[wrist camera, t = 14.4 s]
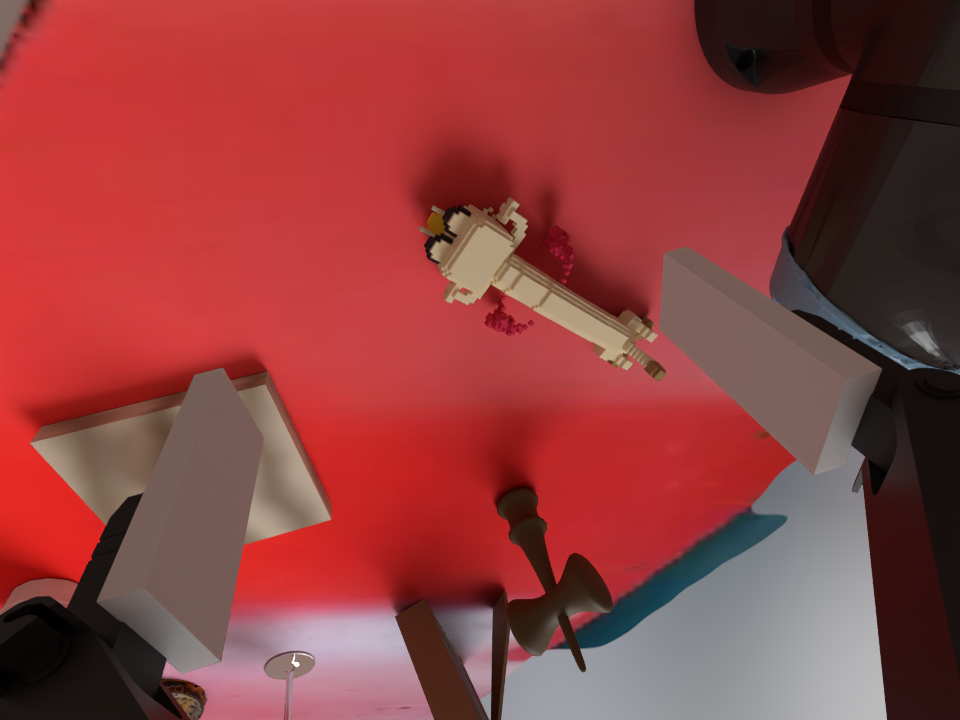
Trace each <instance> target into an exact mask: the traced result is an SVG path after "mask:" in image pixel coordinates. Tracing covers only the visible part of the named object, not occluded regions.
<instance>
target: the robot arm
mask: <svg viewBox="0 0 960 720" xmlns="http://www.w3.org/2000/svg"><path fill="white" fill-rule="evenodd" d="M695 16H696V26H697V32H698V37H699V41H700V44H701V47H702V50H703V53H704V55H705V57H706V59H707V61H708V63H709V64H710V66H711V68H712V69H713V70H714V72H715V73H716V74H717V75H718V76H719V77H720V78H721V79H722V80H723V81H725V82H726V83H728V84H729V85H731V86H733V87H735V88H738V89H740V90H744V91H750V92H757V93H764V94H783V93H790V92H794V91H798V90H801V89H804V88H808V87H811V86H814V85H817V84H821V83H824V82H827V81H831V80H834V79H837V78H840V77H844V76H847V75H850V74H853V75H852V77H851V80H850V83H849V85H848V88H847V90H846V93H845V95H844V97H843V100H842V102H841V105H840V106H839V109H838V111H837V114H836V116H835V119H834V121H833V123H832V126H831V128H830V131H829V133H828V135H827V138H826V140H825V143H824V145H823V147H822V150H821V152H820V155H819V157H818V159H817V162H816V164H815V167H814V169H813V171H812V174H811V176H810V179H809V181H808V183H807V186H806V188H805V191H804V193H803V196H802V198H801V200H800V203H799V205H798V208H797V210H796V212H795V215H794V217H793V220H792V222H791V224H790V226H788V227H786V229H785V231H784V232H783V235H782V239H781V241H782V247H781V250H780V253H779V256H778V259H777V261H776V264H775V267H774V270H773V273H772V276H771V279H770V287H769V288H770V296H771V299H770V298H768V297H767V296H765V295H764V294H762V293H760V292H759V291H757V290H756V289H754V288H752V287H751V286H749V285H748V284H746V283H745V282H743V281H741V280H740V279H738V278H737V277H735V276H733V275H732V274H730V273H729V272H727V271H725V270H724V269H722V268H721V267H719V266H717V265H716V264H714V263H713V262H711V261H709V260H708V259H706V258H705V257H703V256H701V255H700V254H698V253H697V252H695V251H693V250H692V249H690V248H689V247H684V248H681V249H677V250H673V251H669V252H665V253H664V260H663V277H662V294H661V311H660V328H659V330H660V331H661V332H663V333H664V334H665V335H666V336H667V337H668V338H669V339H670V340H671V341H672V342H673V343H674V344H675V345H676V346H677V347H678V348H679V349H681V350H682V351H683V352H684V353H685V354H686V355H687V356H688V357H689V358H690V359H691V360H692V361H693V362H694V363H695V364H696V365H697V366H699V367H700V368H701V369H702V370H703V371H704V372H705V373H706V374H707V375H708V376H709V377H710V378H711V379H712V380H713V381H714V382H716V383H717V384H718V385H719V386H720V387H721V388H722V389H723V390H724V391H725V392H726V393H727V394H728V395H729V396H730V397H731V398H732V399H734V400H735V401H736V402H737V403H738V404H739V405H740V406H741V407H742V408H743V409H744V410H745V411H746V412H747V413H748V414H749V415H750V416H752V417H753V418H754V419H755V420H756V421H757V422H758V423H759V424H760V425H761V426H762V427H763V428H764V429H765V430H766V431H767V432H768V433H770V434H771V435H772V436H773V437H774V438H775V439H776V440H777V441H778V442H779V443H780V444H781V445H782V446H783V447H784V448H785V449H786V450H788V451H789V452H790V453H791V454H792V455H793V456H794V457H795V458H796V459H797V460H798V461H799V462H800V463H801V464H803V466H805V467H806V468H807V469H808V470H809V471H810V472H811V473H812V474H813V475H816V474H819V473H822V472H825V471H828V470H832V469H835V468H838V467H841V466H844V465H845V462H846V460H847V457H848V455H849V452H850V450H851V447H852V446H853V447H854V448H855V449H857V450H858V451H859V452H860V453H862V454H863V455H864V456H865V459H864V461H863V463H862V466H861V468H860V470H859V473H858V475H857V477H856V480H855V482H854V485H853V489H852V492H856V493H858V491H859V489H860V486H861V485H863V490H864V499H865V509H866V518H867V529H868V538H869V547H870V558H871V568H872V577H873V587H874V597H875V606H876V616H877V625H878V635H879V644H880V655H881V665H882V674H883V684H884V694H885V703H886V713H887V720H960V375H958V374H959V373H960V0H695ZM263 442H264V437H263V435H262V434H261V432H260V430H259V429H258V427H257V425H256V423H255V422H254V420H253V418H252V417H251V415H250V413H249V411H248V410H247V408H246V406H245V405H244V403H243V401H242V400H241V398H240V396H239V394H238V393H237V391H236V389H235V388H234V386H233V384H232V382H231V381H230V379H229V377H228V376H227V374H226V372H225V370H224V369H223V367H222V368H219V369H215V370H211V371H207V372H203V373H199V374H195V375H194V377H193V379H192V382H191V384H190V386H189V389H188V391H187V393H186V396H185V398H184V400H183V403H182V405H181V407H180V410H179V412H178V414H177V416H176V419H175V421H174V423H173V426H172V428H171V430H170V433H169V435H168V437H167V440H166V442H165V444H164V447H163V449H162V451H161V454H160V456H159V458H158V460H157V463H156V465H155V467H154V470H153V472H152V474H151V477H150V479H149V481H148V484H147V486H146V488H145V491H144V493H141V494H137V495H134V496H130V497H128V498H127V499H126V500H125V501H124V502H123V503H122V504H121V506H120V507H119V508H118V509H117V510H116V511H115V513H114V514H113V515H112V516H111V517H110V518H109V520H108V523H107V525H106V527H105V529H104V531H103V533H102V535H101V537H100V543H97V546H96V548H95V550H94V552H93V554H92V556H91V557H92V560H91V561H89V562H88V564H87V566H86V569H85V571H84V573H83V575H82V577H81V579H80V581H79V583H78V585H77V587H76V589H75V591H74V594H73V596H72V598H71V600H70V602H69V604H68V606H67V608H65V607H64V606H63V605H62V604H60V603H59V602H58V601H56V600H55V599H53V598H52V597H50V596H38V597H34V598H31V599H28V600H26V601H23V602H20V603H18V604H17V605H15V606H13V607H12V608H10V609H9V610H7V611H5V612H4V613H2V614H1V615H0V720H190V718H189V717H188V715H187V714H186V713H185V711H184V710H183V708H182V707H181V706H180V704H179V703H178V701H177V700H176V699H175V697H174V696H173V694H172V693H171V692H170V690H169V689H168V688H167V687H166V686H165V685H163V684H162V683H161V682H160V681H161V678H162V674H163V670H164V667H165V663H166V661H167V662H168V663H169V664H171V665H172V666H173V667H174V668H175V669H176V670H178V671H179V672H180V673H181V674H183V673H186V672H190V671H193V670H196V669H199V668H202V667H205V666H209V665H212V664H215V663H218V662H221V659H222V654H223V648H224V643H225V638H226V633H227V628H228V623H229V617H230V612H231V607H232V602H233V597H234V592H235V586H236V581H237V576H238V571H239V566H240V560H241V555H242V550H243V545H244V540H245V535H246V529H247V524H248V519H249V514H250V509H251V504H252V498H253V493H254V488H255V483H256V478H257V473H258V467H259V462H260V457H261V452H262V447H263Z"/></svg>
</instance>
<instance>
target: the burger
mask: <svg viewBox="0 0 960 720" xmlns="http://www.w3.org/2000/svg"><path fill="white" fill-rule="evenodd" d="M160 682H161V683H162V684H163V685H165V686H166V687H167V688H168V689H169V690H170V692H171V693H172V694H173V696H174V697H175V699H176V700H177V701H178V703H179V704H180V706H181V707H182V708H183V710H184V711H185V713H186V714H187V715H188V717H189V718H190V720H198V719H199V718H200V717H201V715H202V714H203V711H204V705H205V704H206V701H207V699H206V698H205V696H204V690H203V689H202V688H201V687H197V688H195V686H194V683H191V682H188V681H183V680H173V679H161V681H160Z"/></svg>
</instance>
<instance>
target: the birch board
mask: <svg viewBox="0 0 960 720" xmlns="http://www.w3.org/2000/svg"><path fill="white" fill-rule="evenodd" d="M230 381H231V382H232V384H233V386H234V388H235V389H236V391H237V393H238V394H239V396H240V398H241V400H242V401H243V403H244V405H245V406H246V408H247V410H248V411H249V413H250V415H251V417H252V418H253V420H254V422H255V423H256V425H257V427H258V429H259V430H260V432H261V434H262V435H263V437H264V442H263V447H262V452H261V457H260V462H259V467H258V473H257V478H256V483H255V488H254V493H253V498H252V504H251V509H250V514H249V519H248V524H247V529H246V539H245V540H244V545H245V544H248V543H252V542H255V541H259V540H262V539H266V538H269V537H273V536H276V535H280V534H283V533H287V532H290V531H293V530H297V529H300V528H304V527H307V526H311V525H314V524H318V523H321V522H325V521H328V520H331V503H330V501H329V499H328V497H327V495H326V492H325V490H324V488H323V486H322V484H321V482H320V480H319V478H318V476H317V474H316V471H315V469H314V467H313V465H312V463H311V461H310V459H309V457H308V455H307V453H306V450H305V448H304V446H303V444H302V442H301V440H300V438H299V436H298V434H297V431H296V429H295V427H294V425H293V423H292V421H291V419H290V417H289V415H288V413H287V410H286V408H285V406H284V404H283V402H282V400H281V398H280V396H279V394H278V391H277V389H276V387H275V385H274V383H273V381H272V379H271V377H270V375H269V373H268V371H266V372H262V373H258V374H254V375H250V376H246V377H242V378H238V379H234V380H230ZM186 393H187V391H184V392H180V393H176V394H172V395H168V396H164V397H160V398H156V399H152V400H148V401H144V402H140V403H135V404H131V405H127V406H123V407H119V408H115V409H111V410H107V411H103V412H99V413H95V414H90V415H86V416H82V417H78V418H74V419H70V420H66V421H62V422H58V423H54V424H50V425H46V426H42V427H41V428H40V430H39V431H38V433H37V434H36V435H35V437H34V438H33V439H32V441H31V442H30V444H31V445H32V446H33V447H34V448H35V449H36V450H37V451H38V452H39V453H40V454H41V456H42V457H43V458H44V459H45V460H46V461H47V462H48V463H49V464H50V465H51V466H52V467H53V468H54V470H55V471H56V472H57V473H58V474H59V475H60V476H61V477H62V478H63V479H64V480H65V481H66V483H67V484H68V485H69V486H70V487H71V488H72V489H73V490H74V491H75V492H76V493H77V494H78V495H79V497H80V498H81V499H82V500H83V501H84V502H85V503H86V504H87V505H88V506H89V507H90V508H91V510H92V511H93V512H94V513H95V514H96V515H97V516H98V517H99V518H100V519H101V520H102V521H103V523H104V524H105V525H107V523H108V520H109V518H110V517H111V516H112V515H113V514H114V513H115V511H116V510H117V509H118V508H119V507H120V506H121V504H122V503H123V502H124V501H125V500H126V499H127V498H128V497H130V496H134V495H137V494H141V493H142V492H144V491H145V488H146V486H147V484H148V481H149V479H150V477H151V474H152V472H153V470H154V467H155V465H156V463H157V460H158V458H159V456H160V454H161V451H162V449H163V447H164V444H165V442H166V440H167V437H168V435H169V433H170V430H171V428H172V426H173V423H174V421H175V419H176V416H177V414H178V412H179V410H180V407H181V405H182V403H183V400H184V398H185V396H186Z"/></svg>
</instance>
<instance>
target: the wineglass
mask: <svg viewBox="0 0 960 720" xmlns="http://www.w3.org/2000/svg"><path fill="white" fill-rule="evenodd" d="M314 665H315V659H314V657H313V656H312V655H310V654H307V653H303V652H291V653H286V654H282V655H279V656H277V657H275V658H273V659H272V660H270V661H269V662H268V663H267V665H266V667H265V673H266V674H267V675H268V676H269V677H271V678H274V679H282V680H284V679H286V697H285V712H284V720H291V702H292V686H293V678H297V677H300V676H302V675H304V674H306V673H308V672H309V671H311V670H312V669H313V667H314Z"/></svg>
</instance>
